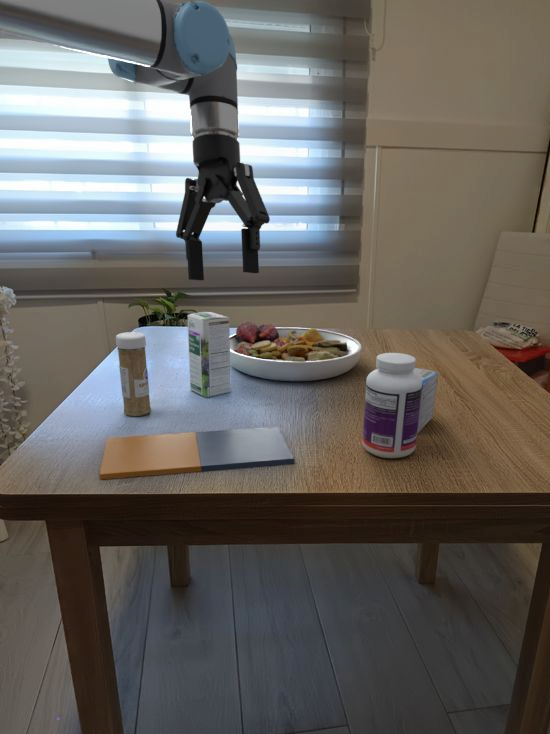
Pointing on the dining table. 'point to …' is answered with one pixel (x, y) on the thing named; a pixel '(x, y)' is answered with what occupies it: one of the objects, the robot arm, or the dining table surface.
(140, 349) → the sprinkles bottle
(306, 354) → the bowl
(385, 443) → the pill bottle
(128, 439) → the sorting board
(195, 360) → the syrup box
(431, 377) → the medicine box
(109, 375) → the dining table surface
